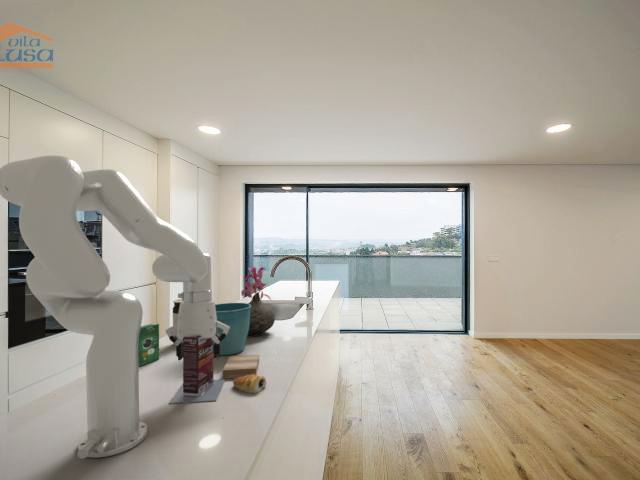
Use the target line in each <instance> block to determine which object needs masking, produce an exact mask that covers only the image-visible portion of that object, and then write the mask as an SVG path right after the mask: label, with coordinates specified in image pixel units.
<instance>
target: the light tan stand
mask: <svg viewBox="0 0 640 480" xmlns="http://www.w3.org/2000/svg"><path fill="white" fill-rule="evenodd" d="M228 356H229V355H228ZM259 364H260V355H259V354H250V355H230V356H229V357H228V359H227V361H226V363H225V365H224V367H223V369H222V379H232V378H233V379H236V378H239V377H244V376H247V375H257V373H258V369H259Z"/></svg>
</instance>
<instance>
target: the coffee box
mask: <svg viewBox="0 0 640 480" xmlns="http://www.w3.org/2000/svg"><path fill="white" fill-rule="evenodd" d="M158 360H160V324H159V323H157V322H154V323H153V322H152V323H150V324H144V325H141V327H140V333H139V341H138V367H143V366H145V365H148V364H150V363H152V362H156V361H158Z"/></svg>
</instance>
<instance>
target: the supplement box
mask: <svg viewBox="0 0 640 480" xmlns="http://www.w3.org/2000/svg"><path fill="white" fill-rule="evenodd" d="M182 371H183V373H182V376H183V378H182V379H183V380H182V384H183V395H184V396H194V397H198V396H199V395H200V394H202V393H203V392H204V391H205V390H207V389H208V388H209V387H211V386H212V385H213V380H214V353H213V340H212V339H211V338H209V339H202V337H201V336H187V337H183V358H182Z"/></svg>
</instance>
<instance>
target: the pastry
mask: <svg viewBox="0 0 640 480" xmlns="http://www.w3.org/2000/svg"><path fill="white" fill-rule="evenodd" d="M232 381H233V382H232V384H233V386H234V388H235V389H236V390H237V389H238V391H240V392H245V393H249V394H257V393H260V392H261V391H262V389H263V388H265V387H266V386H267V379H266V377H265V376H264V375H261V376H260V375H247V376H244V377H238V378H234V379H233V380H232Z"/></svg>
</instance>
